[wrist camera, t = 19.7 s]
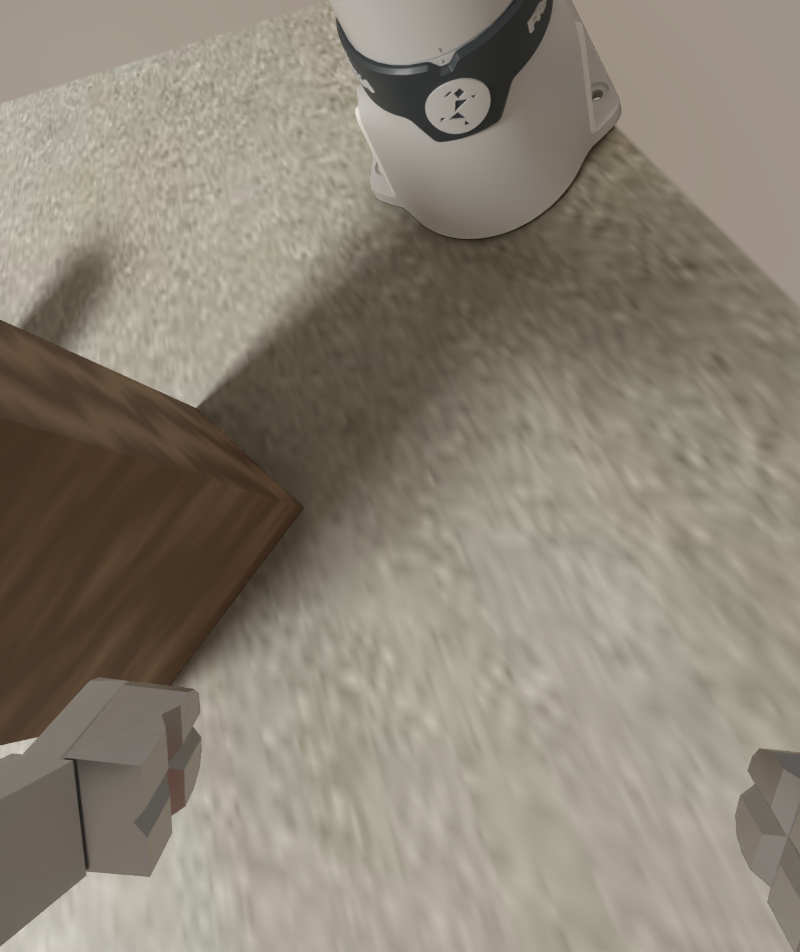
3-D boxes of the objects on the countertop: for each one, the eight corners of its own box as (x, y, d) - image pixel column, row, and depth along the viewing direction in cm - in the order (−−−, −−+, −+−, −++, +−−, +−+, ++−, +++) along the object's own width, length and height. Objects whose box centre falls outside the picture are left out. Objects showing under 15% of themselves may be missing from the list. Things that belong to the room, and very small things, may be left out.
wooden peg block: (60, 593, 52) (-533, 581, 26) (195, 408, 51) (-281, 193, 24) (149, 712, 47) (-491, 854, 20) (303, 507, 45) (-160, 369, 19)
